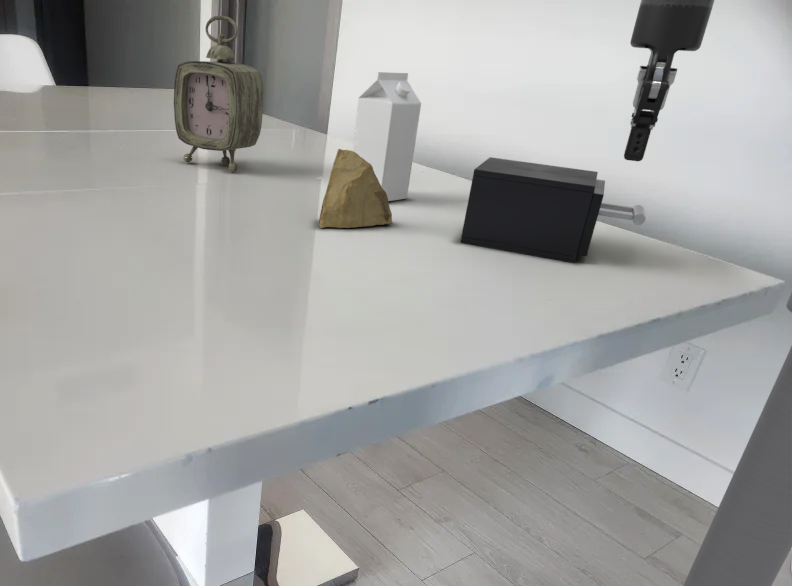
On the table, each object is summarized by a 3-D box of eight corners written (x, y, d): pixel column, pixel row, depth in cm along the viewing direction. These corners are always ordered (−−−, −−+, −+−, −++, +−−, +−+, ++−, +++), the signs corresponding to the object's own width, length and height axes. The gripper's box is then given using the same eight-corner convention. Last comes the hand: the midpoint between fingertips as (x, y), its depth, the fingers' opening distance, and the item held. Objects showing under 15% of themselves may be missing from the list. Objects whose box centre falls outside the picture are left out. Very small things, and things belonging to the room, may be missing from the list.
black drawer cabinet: (579, 240, 96) (597, 171, 92) (574, 263, 86) (595, 186, 81) (476, 223, 101) (489, 157, 96) (460, 242, 90) (474, 169, 86)
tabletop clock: (173, 162, 126) (173, 11, 115) (205, 157, 133) (207, 15, 122) (234, 175, 120) (240, 16, 108) (264, 169, 126) (272, 20, 115)
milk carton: (347, 194, 112) (361, 70, 104) (375, 190, 117) (390, 71, 108) (379, 203, 108) (396, 74, 99) (407, 199, 112) (426, 75, 104)
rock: (398, 202, 99) (333, 185, 100) (409, 161, 91) (338, 142, 92) (380, 261, 94) (312, 242, 95) (391, 222, 86) (316, 202, 87)
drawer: (631, 244, 93) (649, 186, 89) (633, 265, 83) (653, 201, 80) (492, 220, 99) (504, 166, 96) (479, 238, 90) (491, 178, 86)
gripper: (720, 1, 70) (668, 171, 78) (706, 8, 81) (662, 157, 89) (642, -2, 73) (599, 163, 81) (639, 5, 84) (601, 150, 92)
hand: (632, 159), depth 85 cm, fingers closed
